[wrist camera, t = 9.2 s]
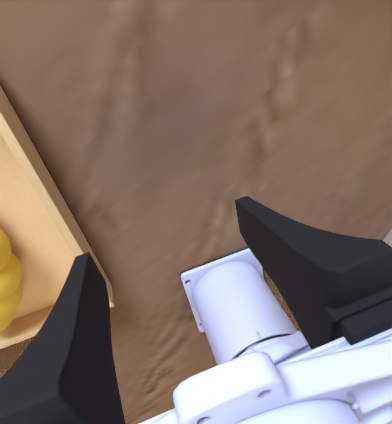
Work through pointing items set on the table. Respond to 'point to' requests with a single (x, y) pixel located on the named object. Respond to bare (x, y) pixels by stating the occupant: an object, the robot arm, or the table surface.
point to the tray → (35, 228)
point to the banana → (9, 282)
